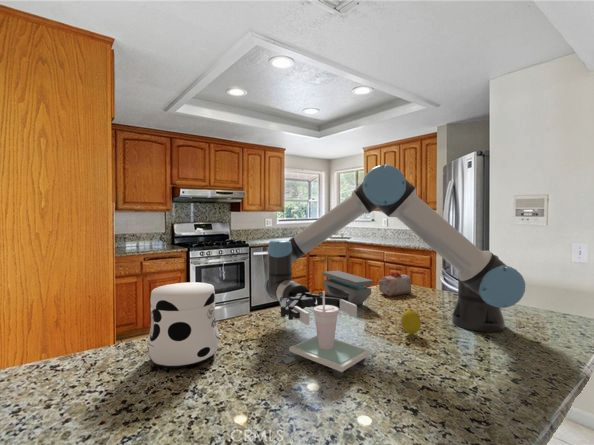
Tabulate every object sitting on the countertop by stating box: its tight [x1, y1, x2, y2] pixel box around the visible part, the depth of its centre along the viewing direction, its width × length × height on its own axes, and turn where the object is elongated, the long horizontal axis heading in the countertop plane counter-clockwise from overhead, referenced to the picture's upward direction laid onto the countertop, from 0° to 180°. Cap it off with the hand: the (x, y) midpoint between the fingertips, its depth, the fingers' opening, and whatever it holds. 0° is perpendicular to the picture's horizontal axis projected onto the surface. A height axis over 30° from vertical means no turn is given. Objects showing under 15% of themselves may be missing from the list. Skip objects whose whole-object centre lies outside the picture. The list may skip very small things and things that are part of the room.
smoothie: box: [312, 290, 340, 350], centre depth 82 cm, size 6×6×14 cm
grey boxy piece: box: [378, 271, 412, 297], centre depth 150 cm, size 14×8×10 cm, turn 114°
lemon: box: [401, 308, 422, 336], centre depth 99 cm, size 6×6×8 cm
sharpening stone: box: [321, 270, 374, 306], centre depth 137 cm, size 25×8×11 cm, turn 26°
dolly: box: [288, 335, 371, 379], centre depth 82 cm, size 16×12×4 cm
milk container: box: [146, 281, 220, 369], centre depth 85 cm, size 17×17×18 cm
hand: (332, 314), depth 79 cm, fingers open, 13 cm apart
